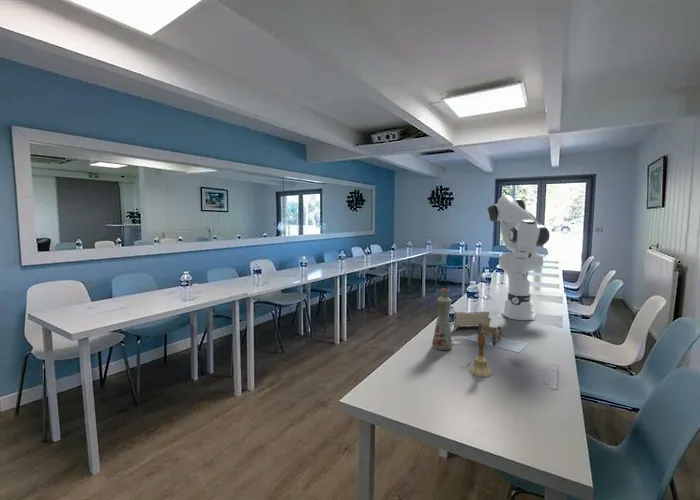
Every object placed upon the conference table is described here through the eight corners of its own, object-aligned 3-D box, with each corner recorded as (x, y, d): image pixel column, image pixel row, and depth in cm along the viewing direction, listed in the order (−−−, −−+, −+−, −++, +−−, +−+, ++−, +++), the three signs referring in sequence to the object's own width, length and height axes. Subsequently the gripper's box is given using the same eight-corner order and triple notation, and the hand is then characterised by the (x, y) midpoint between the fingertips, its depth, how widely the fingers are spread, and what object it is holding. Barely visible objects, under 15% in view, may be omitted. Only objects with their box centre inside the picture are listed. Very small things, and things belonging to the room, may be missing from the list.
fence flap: (496, 338, 177) (496, 328, 177) (499, 339, 176) (500, 329, 176) (491, 344, 170) (492, 333, 169) (495, 345, 169) (495, 334, 168)
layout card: (477, 331, 188) (477, 331, 188) (528, 343, 172) (528, 343, 172) (465, 339, 177) (465, 338, 177) (518, 352, 161) (518, 352, 161)
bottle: (453, 352, 161) (455, 290, 158) (432, 350, 162) (434, 289, 159) (451, 345, 169) (454, 286, 166) (431, 343, 171) (433, 285, 168)
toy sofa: (482, 325, 200) (483, 307, 199) (490, 330, 192) (491, 311, 191) (446, 326, 198) (447, 308, 197) (453, 331, 189) (453, 312, 188)
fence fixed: (478, 333, 186) (479, 322, 185) (501, 338, 178) (501, 327, 178) (477, 334, 184) (478, 323, 184) (499, 339, 177) (500, 327, 176)
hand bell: (477, 378, 136) (479, 337, 134) (464, 369, 144) (466, 330, 142) (496, 375, 138) (498, 335, 136) (482, 366, 146) (484, 328, 144)
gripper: (525, 250, 188) (524, 276, 189) (512, 254, 172) (510, 282, 174) (539, 251, 183) (537, 278, 185) (526, 255, 168) (524, 284, 170)
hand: (524, 280), depth 179 cm, fingers closed
